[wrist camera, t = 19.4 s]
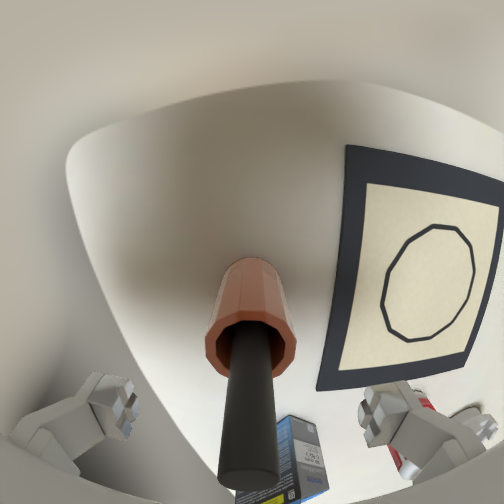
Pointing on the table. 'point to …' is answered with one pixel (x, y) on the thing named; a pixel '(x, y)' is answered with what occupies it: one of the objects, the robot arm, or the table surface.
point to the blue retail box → (294, 467)
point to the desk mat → (409, 268)
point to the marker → (249, 414)
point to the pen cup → (250, 314)
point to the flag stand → (478, 423)
